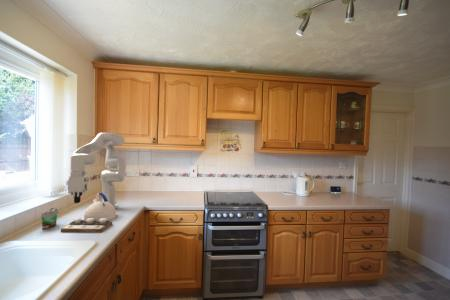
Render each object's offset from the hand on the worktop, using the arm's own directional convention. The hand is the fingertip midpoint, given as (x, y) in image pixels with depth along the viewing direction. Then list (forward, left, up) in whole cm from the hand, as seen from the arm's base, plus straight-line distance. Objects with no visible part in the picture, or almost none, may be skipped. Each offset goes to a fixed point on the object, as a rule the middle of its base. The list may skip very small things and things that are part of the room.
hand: (77, 202), depth 137 cm
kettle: (-17, +5, -16) cm, 24 cm away
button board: (+2, +8, -15) cm, 17 cm away
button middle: (0, +8, -12) cm, 14 cm away
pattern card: (+6, +8, -13) cm, 17 cm away
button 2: (0, +16, -12) cm, 20 cm away
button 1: (0, 0, -12) cm, 12 cm away
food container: (0, -16, -16) cm, 22 cm away
